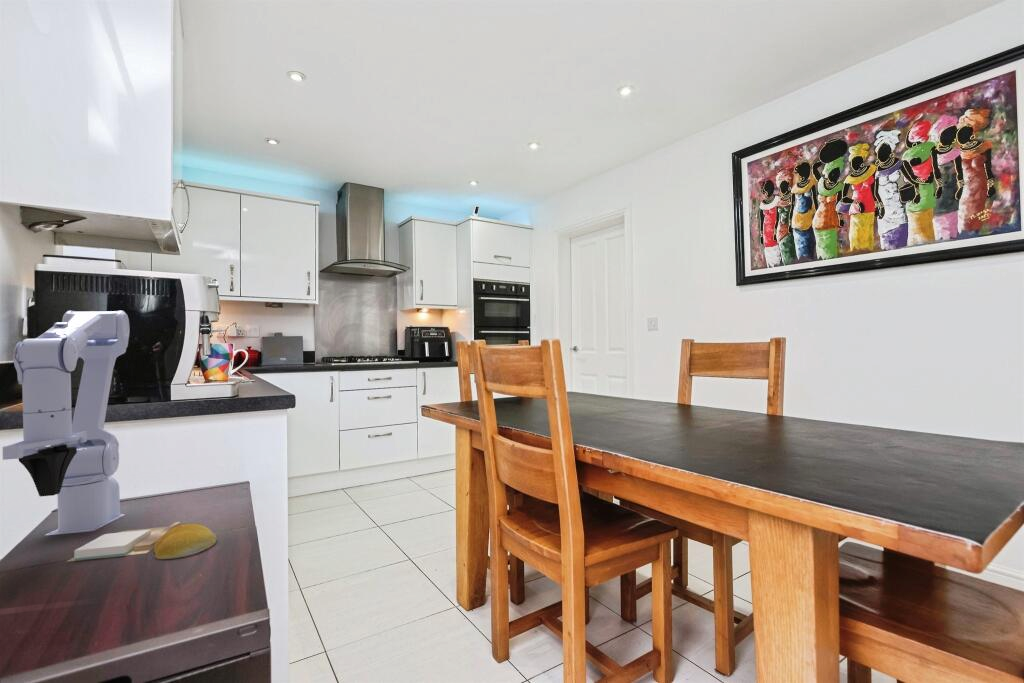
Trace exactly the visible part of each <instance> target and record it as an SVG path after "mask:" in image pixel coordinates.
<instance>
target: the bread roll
mask: <svg viewBox="0 0 1024 683" xmlns="http://www.w3.org/2000/svg"><path fill="white" fill-rule="evenodd" d="M217 541H218V540H217V535H216V534H215V533H214V532H213V531H212V530H211V529H210V528H208V527H207V526H205V525H202V524H197V523H186V524H181V525H180V526H177V527H174V528H172V529H171V530H169V531H167V532H166V533H165V534H164V535H162V536H161V537H160V538H159V539H158V540H157V542H156V543H155V546H154V548H153V553H155V556H154V557H155V558H156V560H169V559H170V560H171V559H179V558H183V557H189V556H192V555H195V554H198V553H201V552H203V551H205V550H208V549H210V548H212V547H213V545H215V544H216V543H217Z"/></svg>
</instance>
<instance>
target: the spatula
mask: <svg viewBox="0 0 1024 683" xmlns="http://www.w3.org/2000/svg"><path fill="white" fill-rule="evenodd" d="M180 525H182V522H181V521H177V522H176V521H175V522H173V523H172V524H170V525H169V526H166V527H167V528H165V529H164V530H162V531H161V532H156V533H154V534H152V535H150V536H149V537H147V538H146V539H144V540H143V541H141V542H139V543H138V544H136V545H135V546H134V551H141V550H150V549H152V548H153V549H154V546H155V543H156V542H157V540H158V539H159V538H160V537H161V536H162V535H164V534H165V533H166V532H167V531H169V530H171V529H172V528H174V527H177V526H180ZM153 549H152V550H153ZM150 551H151V550H150Z"/></svg>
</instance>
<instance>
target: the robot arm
mask: <svg viewBox="0 0 1024 683" xmlns="http://www.w3.org/2000/svg"><path fill="white" fill-rule="evenodd" d="M128 316H129V315H128V314H127V313H126V312H125V311H124V310H114V311H112V310H111V311H110V310H109V311H107V310H106V311H105V310H104V311H100V310H98V311H95V310H94V311H92V310H91V311H76V310H75V311H74V310H67V311H66V312H65V313H64V314H63V316H62V320H61V322H59V321H57V322H54V323H53V326H52V327H50V328H48V330H46V331H45V332H43V333H42V334H40V335H39V336H37V337H35V338H25V339H23V340H22V341H18V343H17V344H16V345H14V349H13V355H12V359H13V364H14V368H15V370H16V373H17V374H16V375H17V381H18V385H21V387H22V425H23V426H22V428H23V430H22V431H23V432H22V434H23V436H22V437H23V440H20V441H19V442H15V443H13V444H10V445H5V446H2V460H3V461H4V460H5V461H6V460H16V459H18V462H19V463H20V464H21V465H22V466H23V467H24V468H25V469H26V470H27V472H28V473H29V475H30V476H31V478H32V481H33V483H34V485H35V488H36V490H37V493H38V496H39V497H48V496H50V497H51V496H55V495H57V496H56V497H57V529H55V530H52V531H50V532H47V533H46V534H45V536H53V535H63V534H64V535H65V534H74V533H84V532H86V533H87V532H94V531H97V530H98V529H101V527H102V528H103V526H105V525H108V524H109V523H112V522H114V521H116V520H118V519H119V518H121V517H124V516H125V515H126V514H124V513H121V499H120V497H121V496H120V484H119V482H118V481H117V479H115V478H114V477H113V475H114V474H115V473H116V472H117V470H118V468H119V464H120V453H119V449H120V448H119V446H120V443H119V441H118V439H117V437H116V436H115V435H114V433H113V434H112V433H111V432H109V431H107V430H105V429H104V427H105V421H106V416H107V415H106V414H107V409H108V402H109V397H110V389H111V384H112V378H113V373H114V367H115V364H116V360H117V358H118V357H119V356H121V355H124V354H126V352H127V348H128V346H129V338H130V319H129V317H128ZM79 358H81V359H82V360H83V367H82V372H81V375H80V376H81V377H80V382H79V386H78V387H79V388H78V392H77V398H76V402H75V408H74V413H73V414H72V410H73V408H72V377H71V372H73V371H75V369H76V367H77V363H78V359H79ZM72 415H73V417H72Z"/></svg>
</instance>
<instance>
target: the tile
mask: <svg viewBox="0 0 1024 683" xmlns="http://www.w3.org/2000/svg"><path fill="white" fill-rule="evenodd" d="M150 535H151V530H141V531H131V532H121V533H118V532H113V533H104V534H102V535H100V536H98V537H97V538H95V539H93V540H91V541H89V542H87V543H85V544H84V545H81V546H80V547H78V548H76V549H75V550H73V551H74V552H73V555H74V556H73V558H74V559H75V560H79V561H83V560H82V559H89V560H93V559H92V558H98V559H103V558H102V557H108V558H112V557H111V556H117V557H122V556H121V555H126V554H128V553H129V552H131V551H132V550H134V546H135V545H136V544H138V543H139V542H141V541H143V540H144V539H146V538H147V537H149V536H150Z"/></svg>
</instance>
